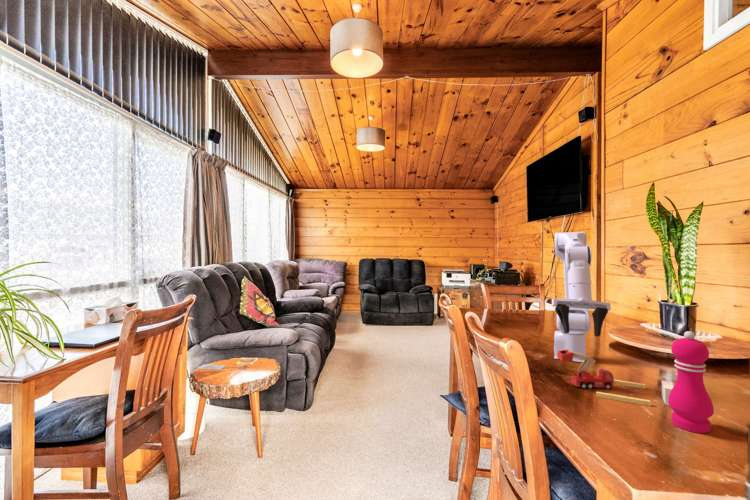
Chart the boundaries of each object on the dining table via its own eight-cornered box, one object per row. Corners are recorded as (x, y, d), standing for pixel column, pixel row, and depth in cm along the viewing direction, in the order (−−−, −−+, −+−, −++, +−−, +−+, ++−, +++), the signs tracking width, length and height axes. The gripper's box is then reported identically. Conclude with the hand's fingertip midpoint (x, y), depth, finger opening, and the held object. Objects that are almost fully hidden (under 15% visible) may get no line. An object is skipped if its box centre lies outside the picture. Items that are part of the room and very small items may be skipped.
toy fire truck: (616, 389, 96) (615, 353, 96) (562, 388, 97) (561, 352, 97) (609, 384, 99) (608, 349, 99) (557, 383, 101) (556, 349, 101)
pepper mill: (659, 418, 79) (658, 328, 79) (689, 417, 80) (688, 326, 80) (691, 435, 72) (690, 336, 72) (724, 433, 73) (723, 334, 73)
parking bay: (596, 396, 91) (596, 380, 91) (596, 380, 102) (596, 366, 102) (678, 411, 83) (677, 393, 83) (669, 391, 94) (668, 376, 94)
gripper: (555, 280, 101) (557, 329, 97) (613, 284, 98) (617, 335, 94) (549, 286, 108) (550, 332, 103) (603, 290, 105) (607, 338, 100)
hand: (582, 334), depth 99 cm, fingers open, 7 cm apart
